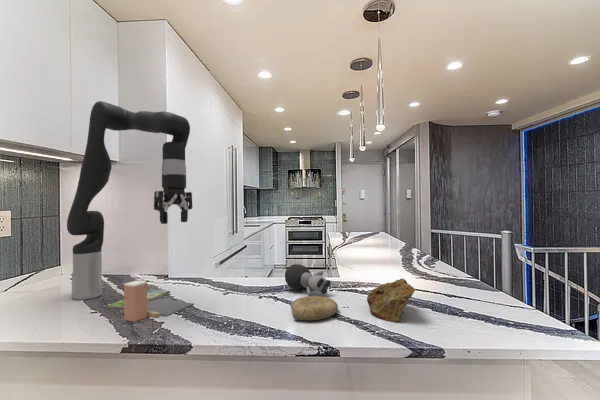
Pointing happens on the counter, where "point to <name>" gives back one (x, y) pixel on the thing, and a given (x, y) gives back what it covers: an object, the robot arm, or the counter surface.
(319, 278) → the toy
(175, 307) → the mat
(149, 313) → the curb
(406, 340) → the counter surface
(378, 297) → the rock
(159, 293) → the green flat panel
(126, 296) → the block
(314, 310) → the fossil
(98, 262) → the robot arm
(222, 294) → the counter surface
